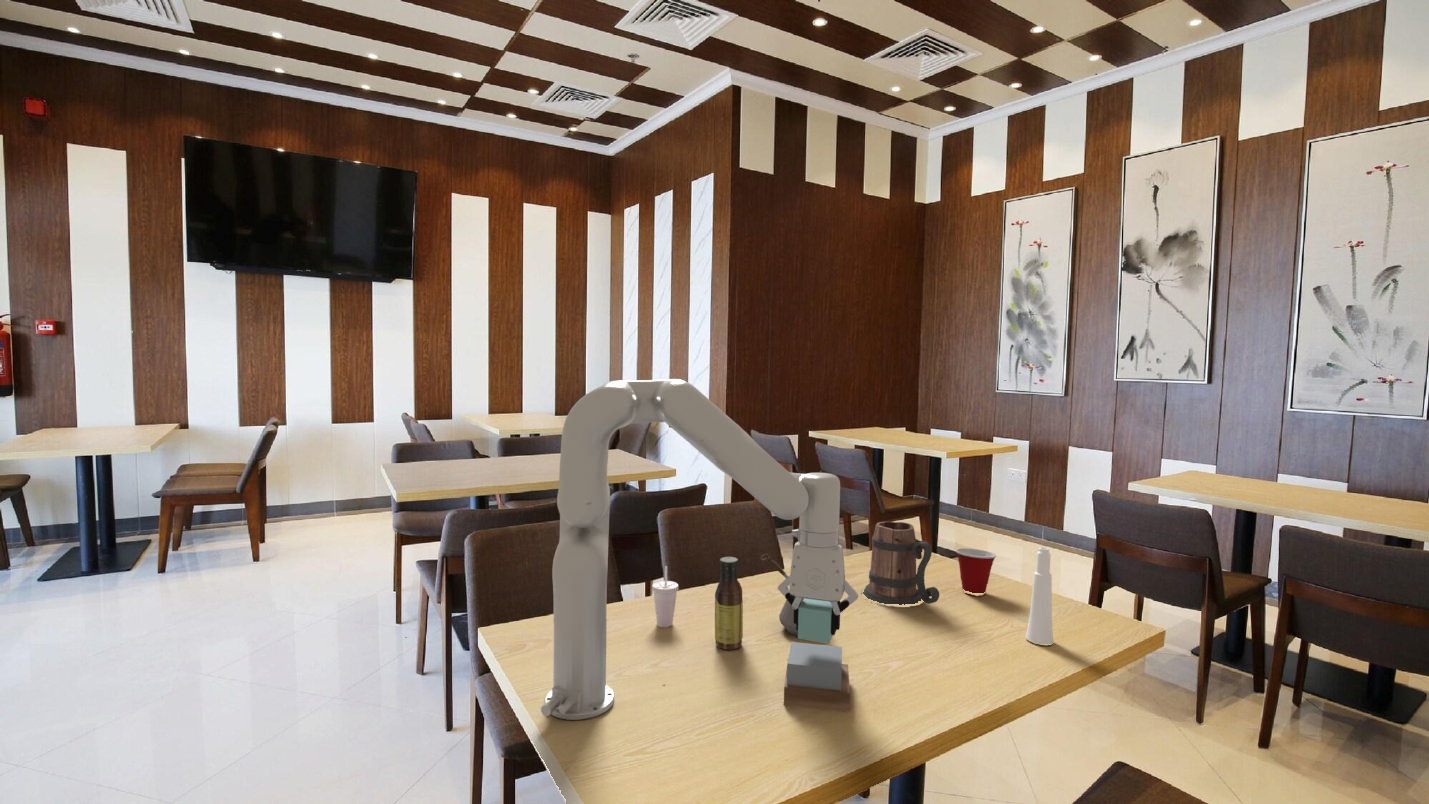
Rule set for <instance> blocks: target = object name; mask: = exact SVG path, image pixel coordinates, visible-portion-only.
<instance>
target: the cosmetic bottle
mask: <svg viewBox="0 0 1429 804" xmlns="http://www.w3.org/2000/svg"><path fill="white" fill-rule="evenodd" d="M1035 568H1036V571H1034V573H1033V580H1032V590H1031V600H1030V609H1029V618H1028V622H1027V623H1028V625H1027V628H1026V634H1025V637H1026V638H1027V639H1028V640H1030V641H1032V642H1034V643H1038V644H1053V643H1054V644H1055V641H1054V633H1053V619H1052V618H1053V616H1052V615H1053V612H1052V611H1053V607H1052V606H1053V603H1052V598H1053V594H1052V593H1053V591H1052V590H1053V589H1052V588H1053V587H1052V586H1053V585H1052V584H1053V583H1052V577H1053V576H1052V573H1050V572H1051V571H1050V570H1051V553H1050V548H1048V547H1044V546H1041V547H1038V551H1037V552H1036V567H1035ZM1054 644H1053V645H1054Z"/></svg>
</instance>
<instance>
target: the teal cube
mask: <svg viewBox="0 0 1429 804" xmlns="http://www.w3.org/2000/svg"><path fill="white" fill-rule="evenodd" d="M832 613H833V608H832V606H831V603H830V602H829V601H821V600H813V599H806V598H804V599H803V601H802V603H801V605H800V606H799V612H798V635H797V639H798V640H805V641H812V642H817V643H824V644H830V643H831V640H832V638H833V636H834V635H832V634H831V615H832Z"/></svg>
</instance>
